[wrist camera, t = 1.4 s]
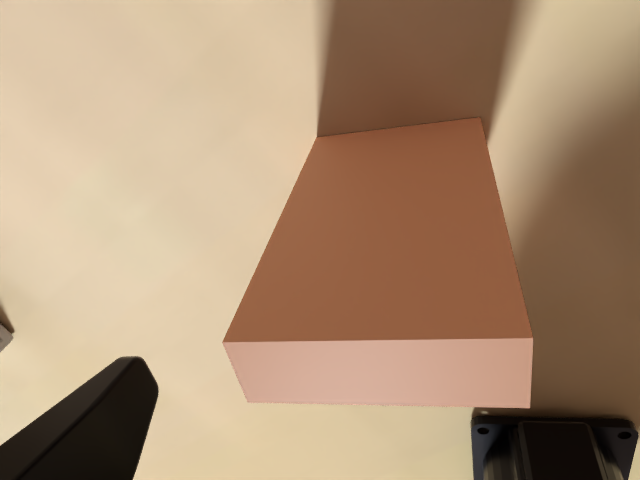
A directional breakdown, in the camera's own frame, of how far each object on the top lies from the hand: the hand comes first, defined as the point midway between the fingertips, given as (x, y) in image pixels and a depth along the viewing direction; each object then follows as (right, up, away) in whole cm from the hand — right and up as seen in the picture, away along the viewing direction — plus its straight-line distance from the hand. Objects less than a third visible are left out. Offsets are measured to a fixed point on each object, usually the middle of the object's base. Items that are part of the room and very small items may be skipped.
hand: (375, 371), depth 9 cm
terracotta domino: (+2, +5, +7) cm, 9 cm away
